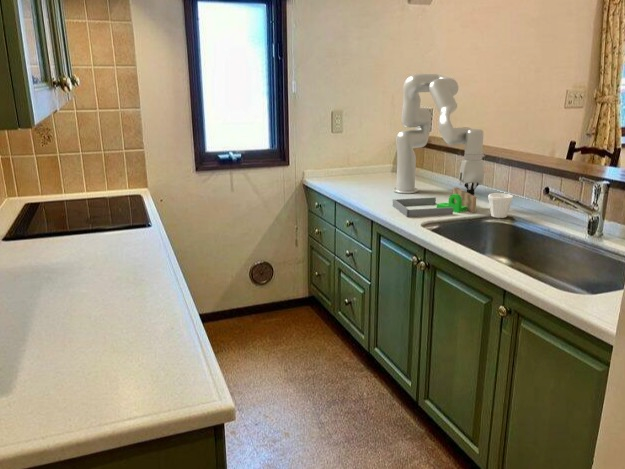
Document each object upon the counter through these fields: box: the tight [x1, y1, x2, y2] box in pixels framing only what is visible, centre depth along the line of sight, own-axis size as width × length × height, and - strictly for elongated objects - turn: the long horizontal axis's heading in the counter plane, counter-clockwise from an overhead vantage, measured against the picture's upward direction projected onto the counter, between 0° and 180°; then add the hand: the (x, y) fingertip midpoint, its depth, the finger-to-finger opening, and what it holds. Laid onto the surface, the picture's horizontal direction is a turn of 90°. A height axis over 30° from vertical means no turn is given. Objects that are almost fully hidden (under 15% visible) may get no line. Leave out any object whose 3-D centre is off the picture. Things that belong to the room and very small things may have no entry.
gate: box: [452, 186, 478, 214], centre depth 240 cm, size 21×2×7 cm, turn 9°
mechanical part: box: [436, 193, 468, 214], centre depth 237 cm, size 12×6×8 cm, turn 38°
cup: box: [487, 192, 514, 219], centre depth 223 cm, size 10×10×9 cm
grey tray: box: [392, 196, 454, 218], centre depth 238 cm, size 21×21×3 cm
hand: (470, 197), depth 240 cm, fingers closed
